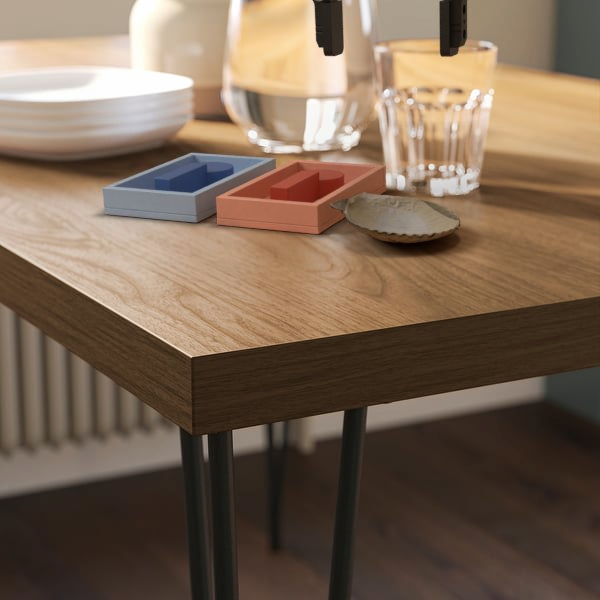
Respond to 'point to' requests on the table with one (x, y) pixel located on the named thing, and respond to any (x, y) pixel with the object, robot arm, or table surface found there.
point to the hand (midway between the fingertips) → (390, 55)
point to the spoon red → (307, 185)
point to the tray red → (289, 214)
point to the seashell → (397, 217)
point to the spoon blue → (193, 176)
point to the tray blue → (179, 205)
